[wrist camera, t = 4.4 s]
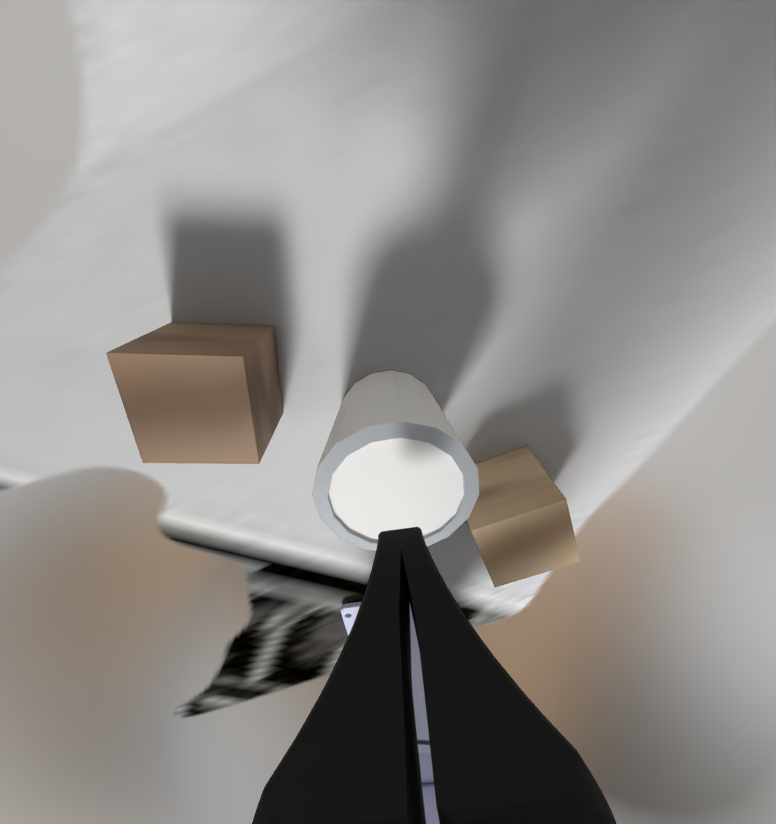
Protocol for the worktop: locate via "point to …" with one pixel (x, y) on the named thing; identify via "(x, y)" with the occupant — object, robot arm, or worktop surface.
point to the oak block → (520, 519)
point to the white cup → (393, 464)
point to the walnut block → (200, 392)
